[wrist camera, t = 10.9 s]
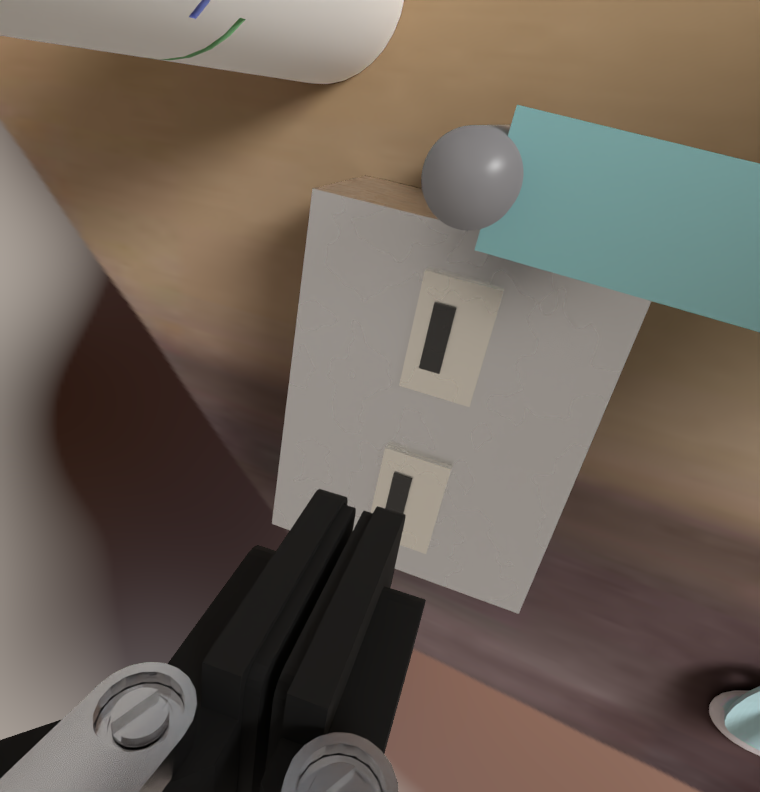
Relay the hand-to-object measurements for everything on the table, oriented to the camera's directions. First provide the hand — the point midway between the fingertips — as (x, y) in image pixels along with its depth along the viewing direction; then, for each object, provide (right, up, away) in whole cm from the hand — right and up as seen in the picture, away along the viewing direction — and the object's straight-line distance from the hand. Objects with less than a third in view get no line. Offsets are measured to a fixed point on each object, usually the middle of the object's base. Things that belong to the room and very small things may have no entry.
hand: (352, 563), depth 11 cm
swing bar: (+13, +10, +11) cm, 20 cm away
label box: (+4, +4, +17) cm, 18 cm away
